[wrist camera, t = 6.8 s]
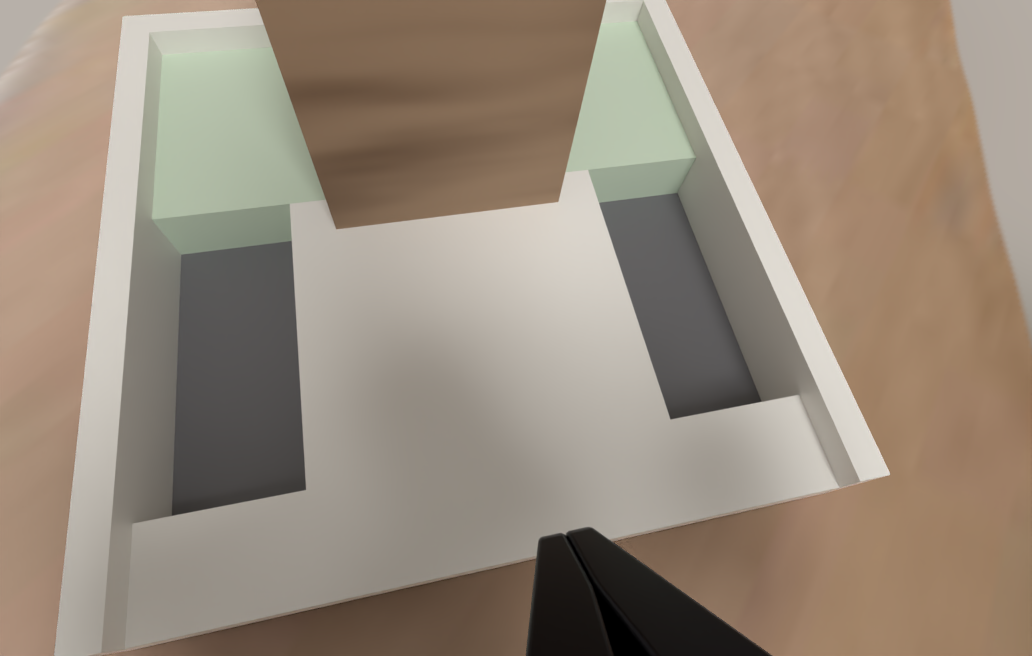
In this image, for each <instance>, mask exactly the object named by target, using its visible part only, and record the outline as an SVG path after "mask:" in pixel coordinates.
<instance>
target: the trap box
mask: <svg viewBox="0 0 1032 656" xmlns="http://www.w3.org/2000/svg"><path fill="white" fill-rule="evenodd" d="M888 475H890V472H889V470H888V468H887V466H886V464H885V462H884V460H883V458H882V456H881V453H880V451H879V449H878V447H877V445H876V443H875V441H874V439H873V437H872V435H871V432H870V430H869V428H868V426H867V424H866V422H865V420H864V418H863V416H862V413H861V411H860V409H859V407H858V405H857V403H856V401H855V399H854V397H853V394H852V392H851V390H850V388H849V386H848V384H847V382H846V380H845V378H844V375H843V373H842V371H841V369H840V367H839V365H838V363H837V361H836V359H835V357H834V354H833V352H832V350H831V348H830V346H829V344H828V342H827V340H826V338H825V335H824V333H823V331H822V329H821V327H820V325H819V323H818V321H817V319H816V316H815V314H814V312H813V310H812V308H811V306H810V304H809V302H808V300H807V298H806V295H805V293H804V291H803V289H802V287H801V285H800V283H799V281H798V279H797V276H796V274H795V272H794V270H793V268H792V266H791V264H790V262H789V260H788V257H787V255H786V253H785V251H784V249H783V247H782V245H781V243H780V241H779V238H778V236H777V234H776V232H775V230H774V228H773V226H772V224H771V222H770V220H769V217H768V215H767V213H766V211H765V209H764V207H763V205H762V203H761V201H760V198H759V196H758V194H757V192H756V190H755V188H754V186H753V184H752V182H751V179H750V177H749V175H748V173H747V171H746V169H745V167H744V165H743V163H742V161H741V158H740V156H739V154H738V152H737V150H736V148H735V146H734V144H733V142H732V139H731V137H730V135H729V133H728V131H727V129H726V127H725V125H724V123H723V120H722V118H721V116H720V114H719V112H718V110H717V108H716V106H715V104H714V102H713V99H712V97H711V95H710V93H709V91H708V89H707V87H706V85H705V83H704V80H703V78H702V76H701V74H700V72H699V70H698V68H697V66H696V64H695V61H694V59H693V57H692V55H691V53H690V51H689V49H688V47H687V45H686V42H685V40H684V38H683V36H682V34H681V32H680V30H679V28H678V26H677V24H676V21H675V19H674V17H673V15H672V13H671V11H670V9H669V7H668V5H667V2H666V0H606V4H605V9H604V13H603V17H602V21H601V25H600V29H599V34H598V38H597V42H596V46H595V50H594V55H593V59H592V63H591V67H590V71H589V76H588V80H587V84H586V88H585V92H584V97H583V101H582V105H581V109H580V113H579V117H578V122H577V126H576V130H575V134H574V138H573V143H572V147H571V151H570V155H569V159H568V164H567V168H566V172H565V176H564V180H563V185H562V189H561V193H560V197H559V201H558V202H555V203H546V204H538V205H530V206H522V207H514V208H506V209H498V210H490V211H482V212H474V213H465V214H457V215H449V216H441V217H433V218H425V219H417V220H409V221H401V222H392V223H384V224H376V225H368V226H360V227H352V228H344V229H336V227H335V224H334V221H333V219H332V216H331V213H330V210H329V207H328V204H327V202H326V199H325V196H324V193H323V190H322V187H321V185H320V182H319V179H318V176H317V173H316V170H315V168H314V165H313V162H312V159H311V156H310V153H309V151H308V148H307V145H306V142H305V139H304V136H303V134H302V131H301V128H300V125H299V122H298V120H297V117H296V114H295V111H294V108H293V105H292V103H291V100H290V97H289V94H288V91H287V88H286V86H285V83H284V80H283V77H282V74H281V71H280V69H279V66H278V63H277V60H276V57H275V54H274V52H273V49H272V46H271V43H270V40H269V37H268V35H267V32H266V29H265V26H264V23H263V20H262V18H261V15H260V12H259V9H258V8H253V9H236V10H219V11H203V12H186V13H170V14H153V15H136V16H123V19H122V29H121V38H120V47H119V57H118V66H117V75H116V84H115V94H114V103H113V112H112V122H111V131H110V140H109V150H108V159H107V168H106V178H105V187H104V196H103V206H102V215H101V224H100V233H99V243H98V252H97V261H96V271H95V280H94V289H93V299H92V308H91V317H90V327H89V336H88V345H87V354H86V364H85V373H84V382H83V392H82V401H81V410H80V420H79V429H78V438H77V448H76V457H75V466H74V475H73V485H72V494H71V503H70V513H69V522H68V531H67V541H66V550H65V559H64V569H63V578H62V587H61V596H60V606H59V615H58V624H57V634H56V643H55V652H54V656H100V655H106V654H112V653H118V652H124V651H129V650H135V649H139V648H144V647H148V646H153V645H157V644H162V643H166V642H170V641H175V640H179V639H184V638H188V637H192V636H197V635H201V634H206V633H210V632H215V631H219V630H223V629H228V628H232V627H237V626H241V625H245V624H250V623H254V622H259V621H263V620H268V619H272V618H276V617H281V616H285V615H290V614H294V613H298V612H303V611H307V610H312V609H316V608H320V607H325V606H329V605H334V604H338V603H343V602H347V601H351V600H356V599H360V598H365V597H369V596H373V595H378V594H382V593H387V592H391V591H396V590H400V589H404V588H409V587H413V586H418V585H422V584H426V583H431V582H435V581H440V580H444V579H448V578H453V577H457V576H462V575H466V574H471V573H475V572H479V571H484V570H488V569H493V568H497V567H501V566H506V565H510V564H515V563H519V562H524V561H528V560H532V559H536V556H537V547H538V540H539V538H540V537H543V536H547V535H552V534H556V533H563V534H565V535H566V533H567V532H568V531H570V530H574V529H579V528H584V527H592V528H594V529H595V530H597V531H598V532H599V533H601V534H602V535H604V536H605V537H606V538H608V539H609V540H611V541H616V540H621V539H625V538H629V537H634V536H638V535H643V534H647V533H652V532H656V531H660V530H665V529H669V528H674V527H678V526H682V525H687V524H691V523H696V522H700V521H705V520H709V519H713V518H718V517H722V516H727V515H731V514H735V513H740V512H744V511H749V510H753V509H757V508H762V507H766V506H771V505H775V504H780V503H784V502H788V501H793V500H797V499H802V498H806V497H810V496H815V495H819V494H823V493H827V492H831V491H834V490H838V489H841V488H845V487H848V486H852V485H856V484H859V483H863V482H866V481H870V480H874V479H877V478H881V477H884V476H888Z"/></svg>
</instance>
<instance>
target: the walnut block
mask: <svg viewBox="0 0 1032 656" xmlns="http://www.w3.org/2000/svg"><path fill="white" fill-rule="evenodd" d="M255 1H256V3H257V6H258V9H259V12H260V15H261V18H262V20H263V23H264V26H265V29H266V32H267V35H268V37H269V40H270V43H271V46H272V49H273V52H274V54H275V57H276V60H277V63H278V66H279V69H280V71H281V74H282V77H283V80H284V83H285V86H286V88H287V91H288V94H289V97H290V100H291V103H292V105H293V108H294V111H295V114H296V117H297V120H298V122H299V125H300V128H301V131H302V134H303V136H304V139H305V142H306V145H307V148H308V151H309V153H310V156H311V159H312V162H313V165H314V168H315V170H316V173H317V176H318V179H319V182H320V185H321V187H322V190H323V193H324V196H325V199H326V202H327V204H328V207H329V210H330V213H331V216H332V219H333V221H334V224H335V227H336V229H344V228H352V227H360V226H368V225H376V224H384V223H392V222H401V221H409V220H417V219H425V218H433V217H441V216H449V215H457V214H465V213H474V212H482V211H490V210H498V209H506V208H514V207H522V206H530V205H538V204H546V203H555V202H558V201H559V197H560V193H561V189H562V185H563V180H564V176H565V172H566V168H567V164H568V159H569V155H570V151H571V147H572V143H573V138H574V134H575V130H576V126H577V122H578V117H579V113H580V109H581V105H582V101H583V97H584V92H585V88H586V84H587V80H588V76H589V71H590V67H591V63H592V59H593V55H594V50H595V46H596V42H597V38H598V34H599V29H600V25H601V21H602V17H603V13H604V9H605V4H606V0H255Z"/></svg>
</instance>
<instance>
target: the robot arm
mask: <svg viewBox="0 0 1032 656" xmlns="http://www.w3.org/2000/svg"><path fill="white" fill-rule="evenodd" d="M526 656H772V655H771V654H769V653H768V652H766V651H765V650H764V649H762V648H761V647H759V646H758V645H757V644H755V643H754V642H752V641H751V640H750V639H748V638H747V637H745V636H744V635H743V634H741V633H740V632H738V631H737V630H736V629H734V628H733V627H731V626H730V625H729V624H727V623H726V622H724V621H723V620H722V619H720V618H719V617H717V616H716V615H715V614H713V613H712V612H710V611H709V610H707V609H706V608H705V607H703V606H702V605H700V604H699V603H698V602H696V601H695V600H693V599H692V598H691V597H689V596H688V595H686V594H685V593H684V592H682V591H681V590H679V589H678V588H677V587H675V586H674V585H672V584H671V583H670V582H668V581H667V580H665V579H664V578H663V577H661V576H660V575H658V574H657V573H656V572H654V571H653V570H651V569H650V568H649V567H647V566H646V565H644V564H643V563H642V562H640V561H639V560H637V559H636V558H635V557H633V556H632V555H630V554H629V553H628V552H626V551H625V550H623V549H622V548H620V547H619V546H618V545H616V544H615V543H613V542H612V541H611V540H609V539H608V538H606V537H605V536H604V535H602V534H601V533H599V532H598V531H597V530H595V529H594V528H592V527H584V528H579V529H574V530H570V531H568V532H567V533H566V535H565V534H563V533H556V534H552V535H547V536H543V537H540V538H539V540H538V547H537V556H536V566H535V575H534V584H533V593H532V602H531V612H530V621H529V630H528V639H527V649H526Z"/></svg>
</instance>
